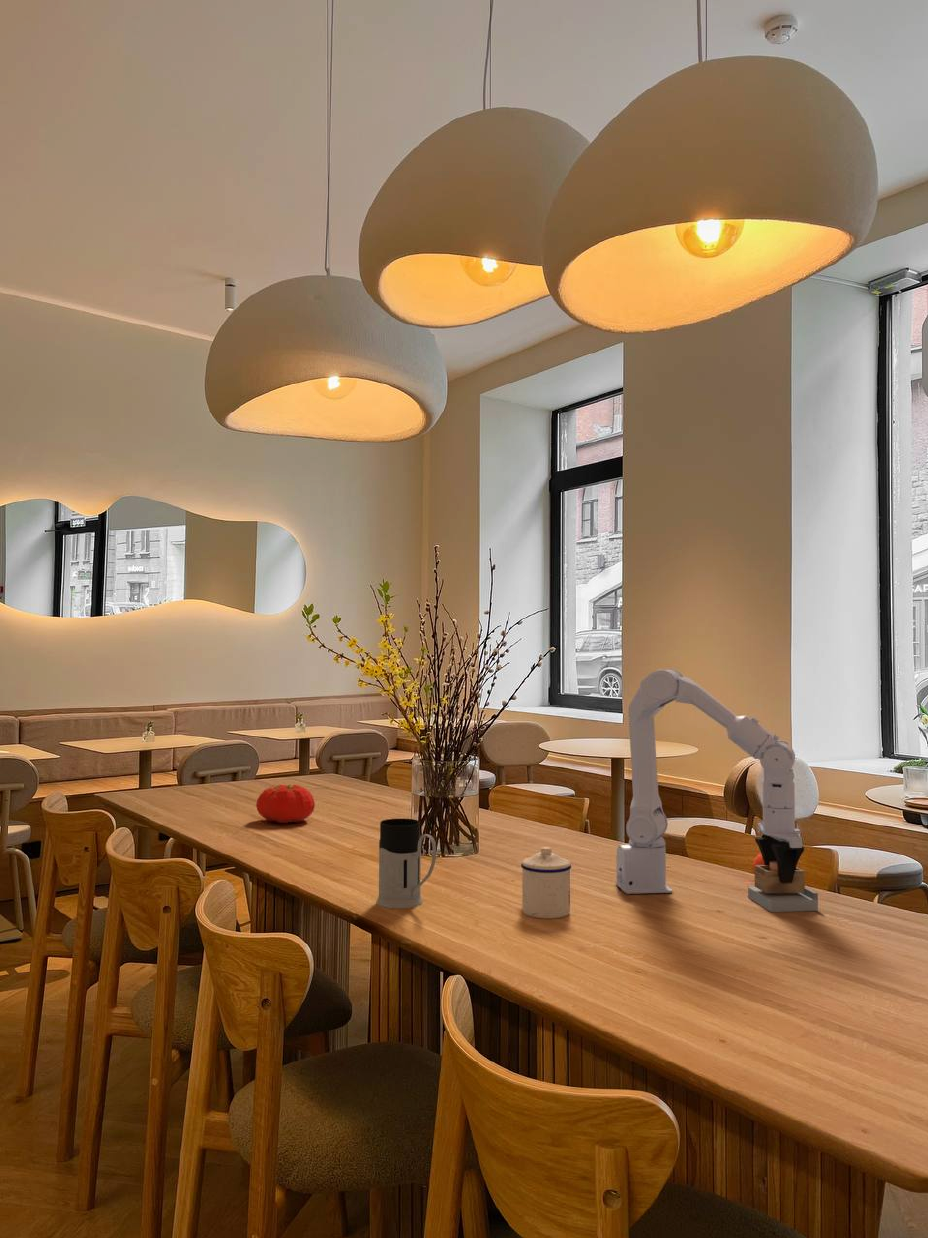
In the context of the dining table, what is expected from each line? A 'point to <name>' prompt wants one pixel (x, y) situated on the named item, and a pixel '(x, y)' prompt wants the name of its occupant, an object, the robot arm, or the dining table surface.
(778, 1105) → the dining table surface
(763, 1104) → the dining table surface
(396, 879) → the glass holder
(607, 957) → the dining table surface
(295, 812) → the tomato
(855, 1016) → the dining table surface
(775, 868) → the ball
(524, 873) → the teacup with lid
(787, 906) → the dock
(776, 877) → the open wooden crate
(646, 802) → the robot arm
